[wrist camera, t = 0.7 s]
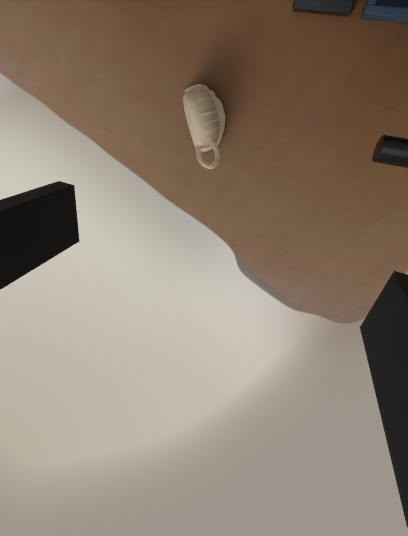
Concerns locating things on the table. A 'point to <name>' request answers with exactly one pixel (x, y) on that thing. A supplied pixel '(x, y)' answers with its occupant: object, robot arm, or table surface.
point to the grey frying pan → (391, 151)
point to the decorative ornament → (204, 120)
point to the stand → (324, 6)
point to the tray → (386, 10)
